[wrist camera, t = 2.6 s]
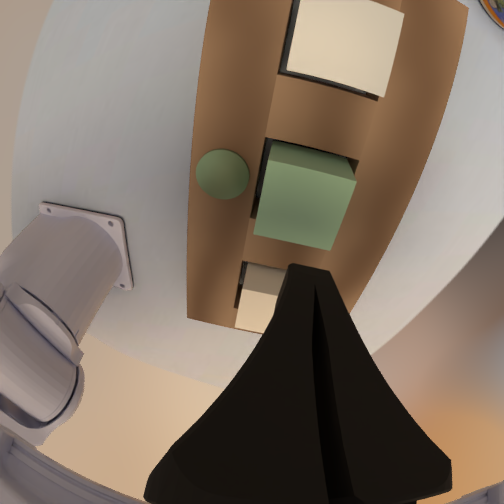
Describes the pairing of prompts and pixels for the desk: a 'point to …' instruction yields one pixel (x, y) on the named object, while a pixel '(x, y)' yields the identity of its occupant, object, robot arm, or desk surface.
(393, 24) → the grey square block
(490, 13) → the pill bottle
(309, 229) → the sage button
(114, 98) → the desk surface
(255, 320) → the cream button
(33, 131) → the desk surface
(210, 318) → the brown wooden slotted board
